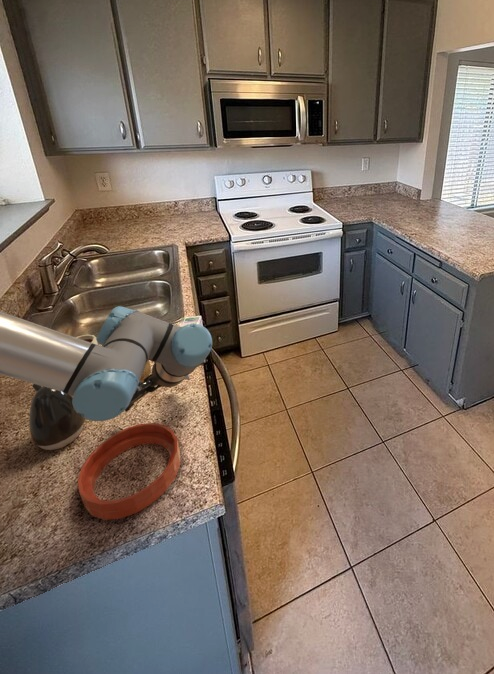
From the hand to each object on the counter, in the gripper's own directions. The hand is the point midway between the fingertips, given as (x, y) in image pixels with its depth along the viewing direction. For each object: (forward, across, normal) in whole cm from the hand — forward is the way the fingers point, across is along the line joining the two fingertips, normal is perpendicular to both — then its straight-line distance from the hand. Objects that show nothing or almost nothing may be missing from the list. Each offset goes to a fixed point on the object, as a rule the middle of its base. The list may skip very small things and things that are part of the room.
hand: (152, 390), depth 91 cm
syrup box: (+10, +17, +2) cm, 20 cm away
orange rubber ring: (-6, -12, -15) cm, 20 cm away
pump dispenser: (+10, -18, +2) cm, 21 cm away
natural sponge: (+12, 0, +4) cm, 13 cm away
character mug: (+22, -6, +14) cm, 27 cm away
